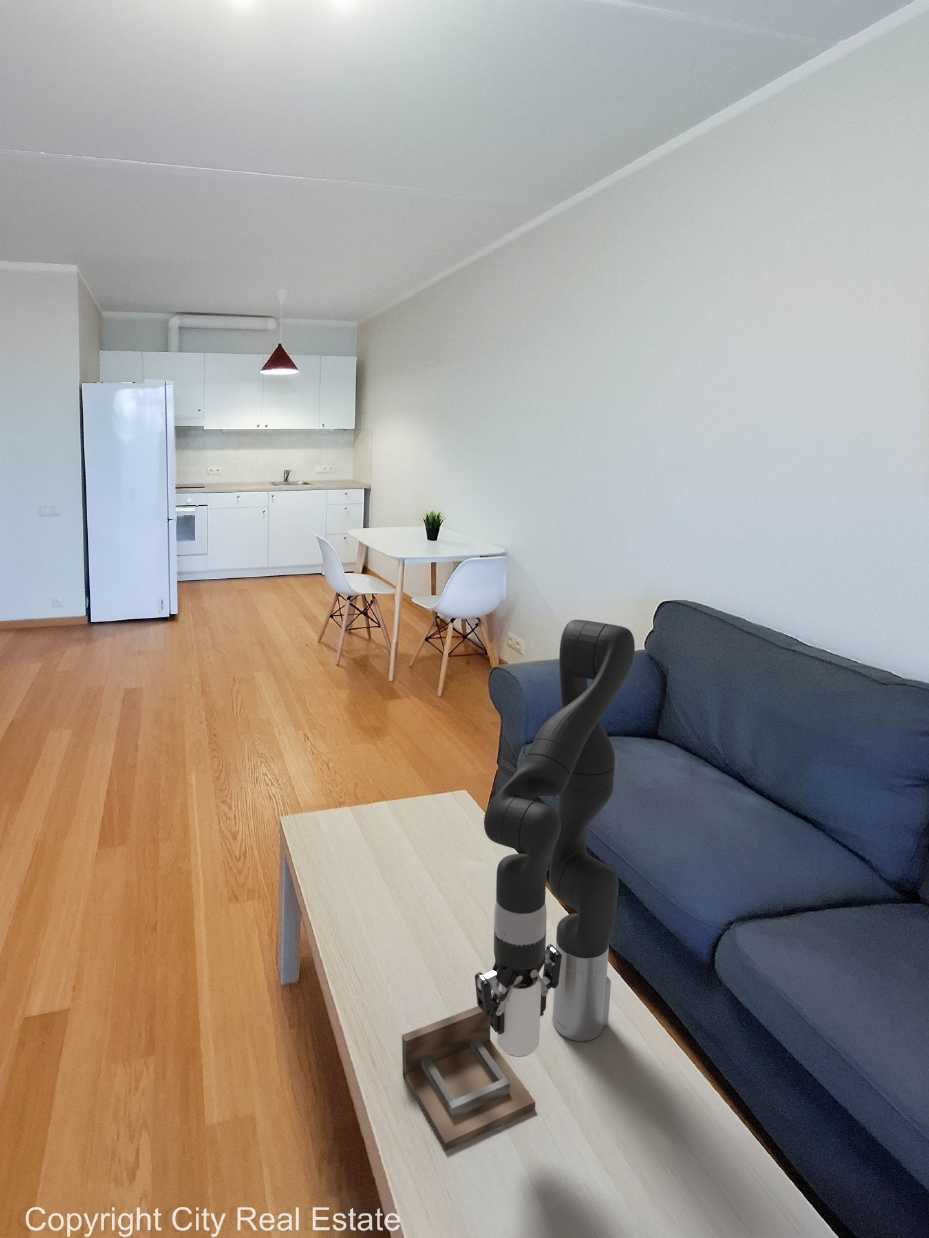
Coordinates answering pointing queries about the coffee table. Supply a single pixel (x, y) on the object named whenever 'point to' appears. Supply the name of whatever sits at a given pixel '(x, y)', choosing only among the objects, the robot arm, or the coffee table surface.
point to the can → (521, 1019)
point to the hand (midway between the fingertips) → (517, 1021)
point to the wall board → (462, 1078)
